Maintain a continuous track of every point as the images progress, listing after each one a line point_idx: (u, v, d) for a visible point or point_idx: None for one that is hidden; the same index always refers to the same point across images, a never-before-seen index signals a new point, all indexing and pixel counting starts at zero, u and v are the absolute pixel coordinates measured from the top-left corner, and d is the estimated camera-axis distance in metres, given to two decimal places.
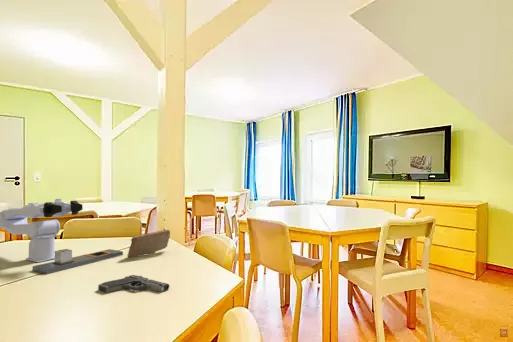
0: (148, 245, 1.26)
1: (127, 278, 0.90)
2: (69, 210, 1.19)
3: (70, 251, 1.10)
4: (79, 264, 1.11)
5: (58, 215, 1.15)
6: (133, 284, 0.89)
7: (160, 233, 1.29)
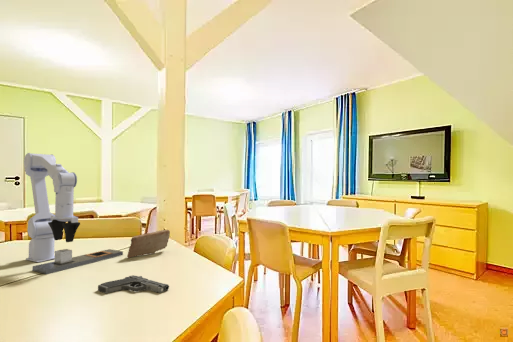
0: (148, 245, 1.26)
1: (127, 278, 0.90)
2: None
3: (70, 251, 1.10)
4: (79, 264, 1.11)
5: None
6: (133, 285, 0.88)
7: (160, 233, 1.29)
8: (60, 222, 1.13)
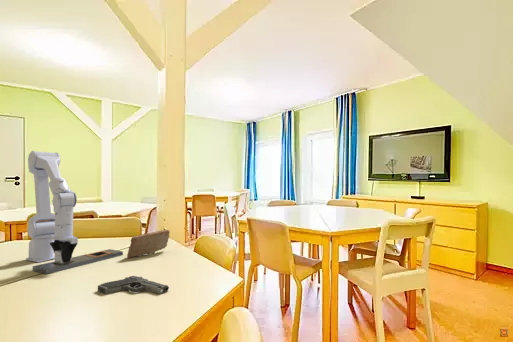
0: (148, 245, 1.26)
1: (127, 279, 0.89)
2: None
3: None
4: (79, 264, 1.11)
5: None
6: (133, 285, 0.88)
7: (160, 233, 1.29)
8: (62, 242, 1.12)
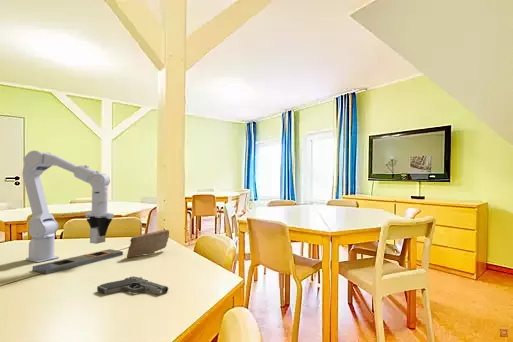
0: (147, 245, 1.26)
1: (127, 280, 0.89)
2: None
3: None
4: (79, 264, 1.11)
5: None
6: (132, 286, 0.87)
7: (159, 233, 1.29)
8: (97, 219, 1.24)
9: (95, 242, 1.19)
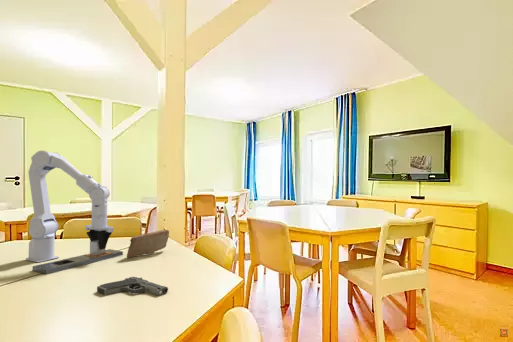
0: (147, 245, 1.26)
1: (126, 280, 0.88)
2: None
3: None
4: (79, 264, 1.11)
5: None
6: (132, 286, 0.87)
7: (159, 233, 1.29)
8: (97, 232, 1.24)
9: None
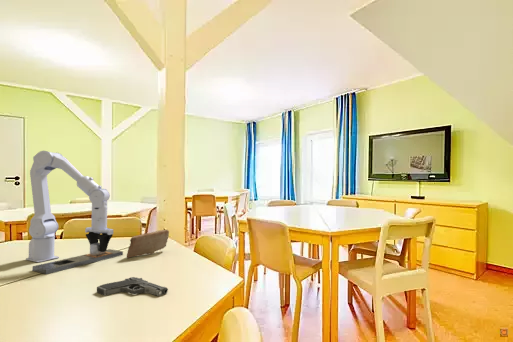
0: (147, 245, 1.26)
1: (126, 280, 0.88)
2: None
3: None
4: (79, 264, 1.11)
5: None
6: (132, 287, 0.86)
7: (159, 233, 1.29)
8: (96, 234, 1.24)
9: None
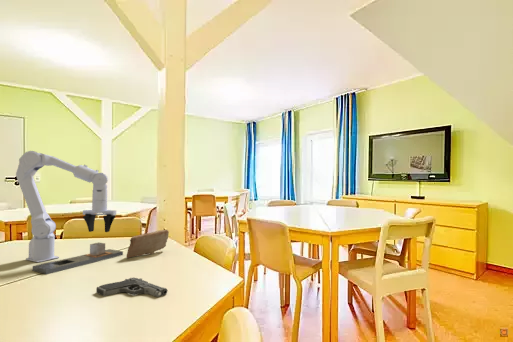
0: (147, 245, 1.26)
1: (126, 281, 0.88)
2: None
3: (104, 244, 1.22)
4: (79, 264, 1.11)
5: None
6: (132, 287, 0.86)
7: (159, 233, 1.29)
8: (92, 216, 1.29)
9: None
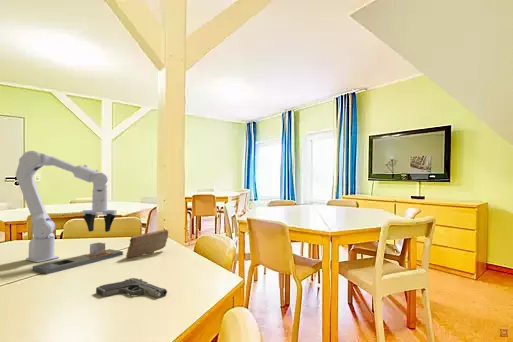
0: (147, 245, 1.26)
1: (126, 281, 0.87)
2: None
3: (104, 244, 1.22)
4: (79, 264, 1.11)
5: None
6: (131, 288, 0.85)
7: (159, 233, 1.29)
8: (92, 216, 1.30)
9: None
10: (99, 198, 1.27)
